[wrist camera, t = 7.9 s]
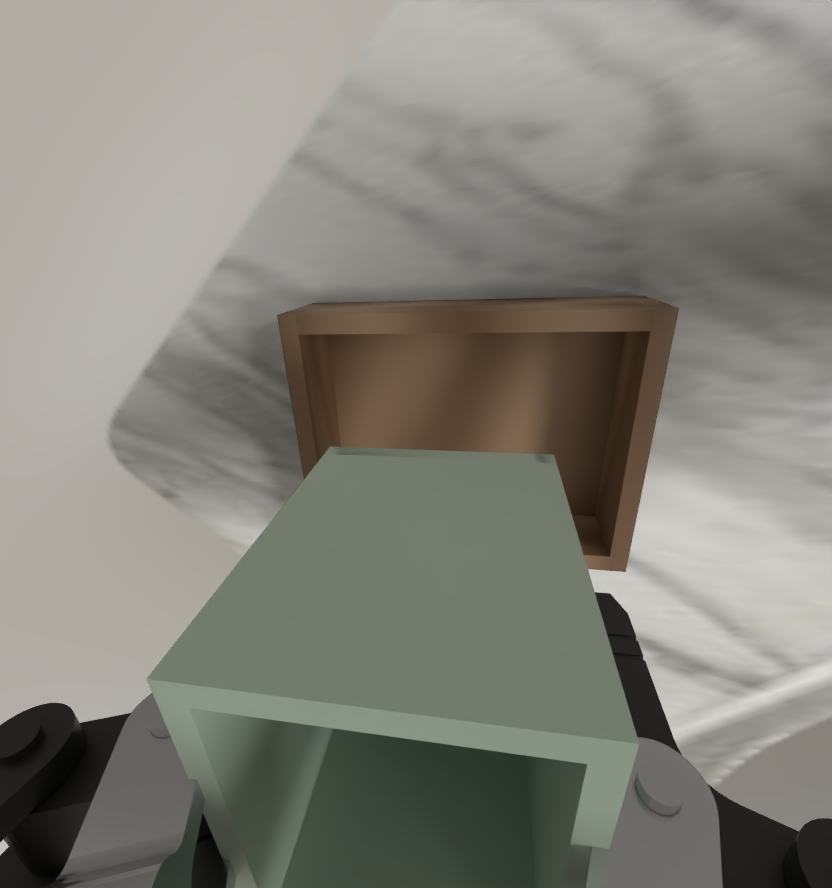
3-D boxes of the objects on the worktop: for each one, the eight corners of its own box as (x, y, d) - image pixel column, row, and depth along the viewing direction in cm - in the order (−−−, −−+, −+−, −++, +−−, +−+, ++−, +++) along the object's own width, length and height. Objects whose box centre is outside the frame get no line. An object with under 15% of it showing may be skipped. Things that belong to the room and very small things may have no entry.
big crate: (644, 295, 17) (678, 308, 14) (606, 522, 21) (625, 571, 18) (313, 303, 19) (277, 315, 16) (339, 506, 23) (315, 548, 20)
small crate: (553, 454, 9) (639, 744, 4) (532, 653, 12) (566, 997, 6) (330, 446, 10) (147, 678, 5) (354, 634, 13) (251, 928, 7)
